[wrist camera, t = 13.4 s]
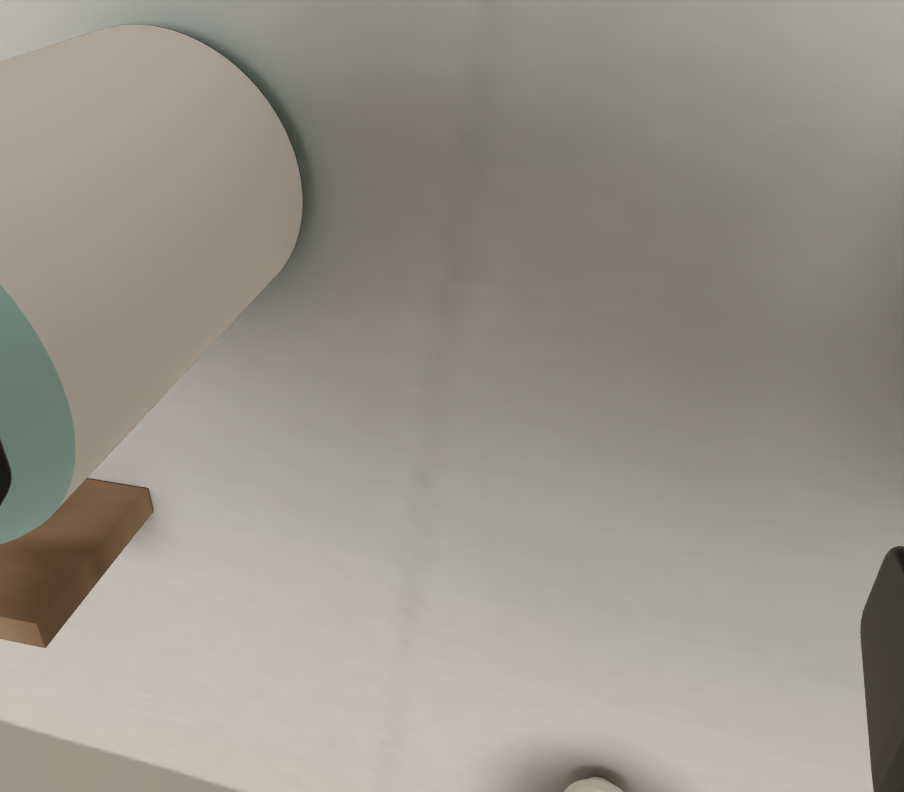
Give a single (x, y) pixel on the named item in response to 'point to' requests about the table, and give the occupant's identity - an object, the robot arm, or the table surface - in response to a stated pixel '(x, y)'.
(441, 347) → the table surface
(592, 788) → the lightbulb
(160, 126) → the can
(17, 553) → the three-sided wooden tray
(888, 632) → the robot arm
